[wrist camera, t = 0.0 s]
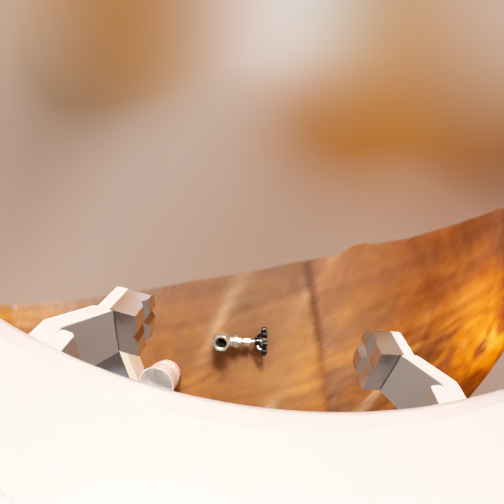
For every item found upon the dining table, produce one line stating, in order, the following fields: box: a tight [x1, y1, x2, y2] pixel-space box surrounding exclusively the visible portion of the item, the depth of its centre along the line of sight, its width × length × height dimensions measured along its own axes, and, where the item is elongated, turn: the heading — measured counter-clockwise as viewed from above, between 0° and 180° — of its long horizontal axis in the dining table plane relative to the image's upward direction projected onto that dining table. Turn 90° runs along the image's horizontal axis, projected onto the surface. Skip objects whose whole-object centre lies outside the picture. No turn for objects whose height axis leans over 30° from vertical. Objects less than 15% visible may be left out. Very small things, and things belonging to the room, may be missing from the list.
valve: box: [212, 327, 267, 356], centre depth 59 cm, size 7×7×12 cm
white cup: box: [140, 360, 181, 391], centre depth 55 cm, size 8×8×10 cm
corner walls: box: [119, 351, 145, 381], centre depth 56 cm, size 18×22×6 cm
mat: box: [95, 352, 129, 378], centre depth 59 cm, size 12×15×1 cm
